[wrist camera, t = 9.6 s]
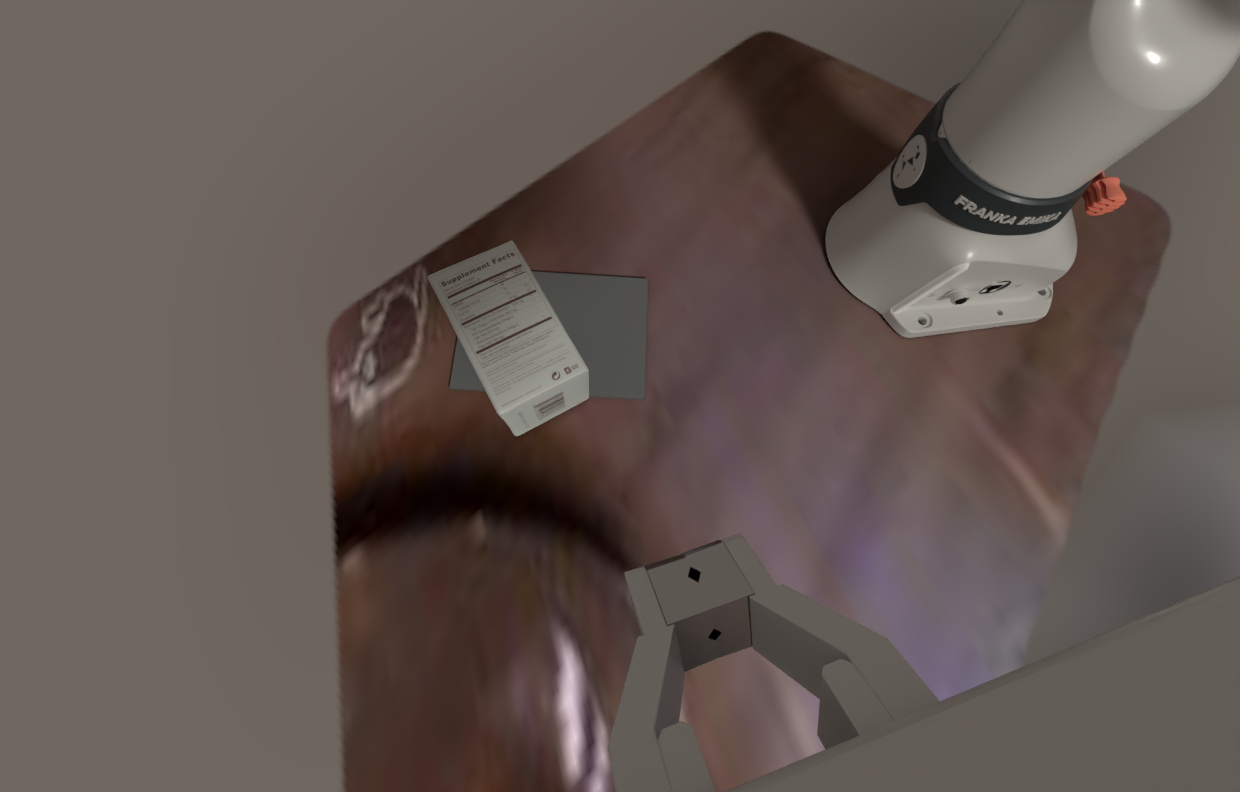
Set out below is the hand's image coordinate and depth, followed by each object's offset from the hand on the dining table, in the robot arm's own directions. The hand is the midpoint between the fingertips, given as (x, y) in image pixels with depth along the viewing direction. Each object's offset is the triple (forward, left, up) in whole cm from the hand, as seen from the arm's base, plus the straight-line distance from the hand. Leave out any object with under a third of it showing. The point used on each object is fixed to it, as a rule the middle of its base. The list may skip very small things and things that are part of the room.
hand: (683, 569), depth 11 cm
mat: (+7, -18, -26) cm, 33 cm away
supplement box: (+6, -10, -22) cm, 25 cm away
